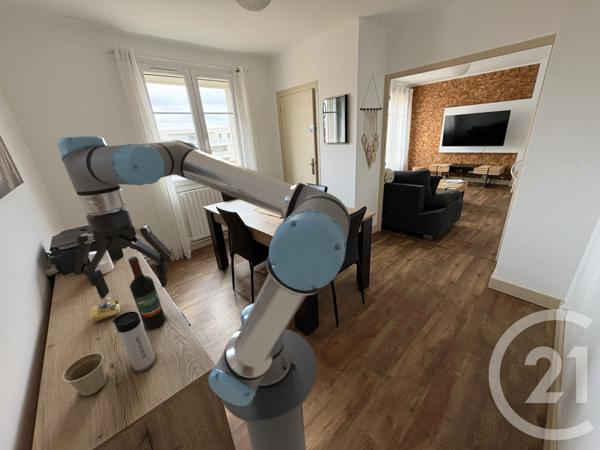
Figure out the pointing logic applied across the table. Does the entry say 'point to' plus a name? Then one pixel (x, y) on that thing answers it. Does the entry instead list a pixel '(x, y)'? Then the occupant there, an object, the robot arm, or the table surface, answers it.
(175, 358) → the table surface
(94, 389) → the flower pot
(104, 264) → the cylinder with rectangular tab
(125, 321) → the travel mug
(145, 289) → the wine bottle
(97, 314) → the cake
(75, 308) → the table surface
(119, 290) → the table surface
